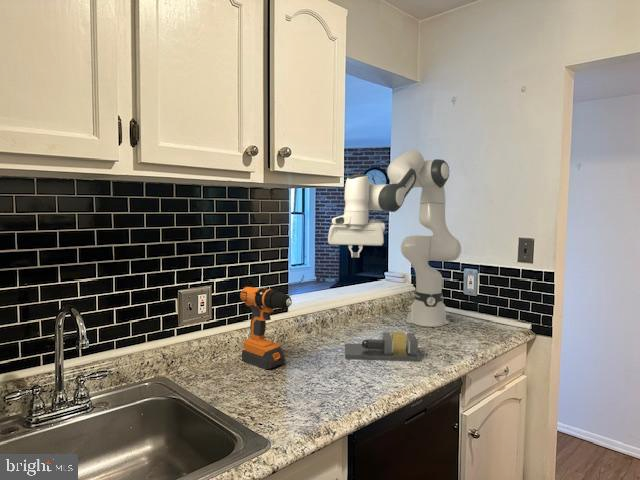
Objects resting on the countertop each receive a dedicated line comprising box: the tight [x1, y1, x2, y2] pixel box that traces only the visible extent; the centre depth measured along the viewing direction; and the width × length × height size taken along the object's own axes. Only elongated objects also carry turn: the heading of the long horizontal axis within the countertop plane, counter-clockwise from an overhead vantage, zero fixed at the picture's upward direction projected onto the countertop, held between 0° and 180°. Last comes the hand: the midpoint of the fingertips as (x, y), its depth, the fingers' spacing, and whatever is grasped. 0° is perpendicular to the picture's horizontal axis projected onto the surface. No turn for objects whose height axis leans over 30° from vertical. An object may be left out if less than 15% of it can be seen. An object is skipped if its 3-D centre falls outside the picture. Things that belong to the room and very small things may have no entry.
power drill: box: [239, 286, 293, 371], centre depth 142 cm, size 22×7×25 cm, turn 50°
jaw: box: [361, 331, 393, 355], centre depth 155 cm, size 9×10×5 cm
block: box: [391, 331, 407, 353], centre depth 154 cm, size 4×4×6 cm
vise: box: [344, 332, 421, 362], centre depth 155 cm, size 12×25×6 cm, turn 87°
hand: (355, 257), depth 161 cm, fingers closed
